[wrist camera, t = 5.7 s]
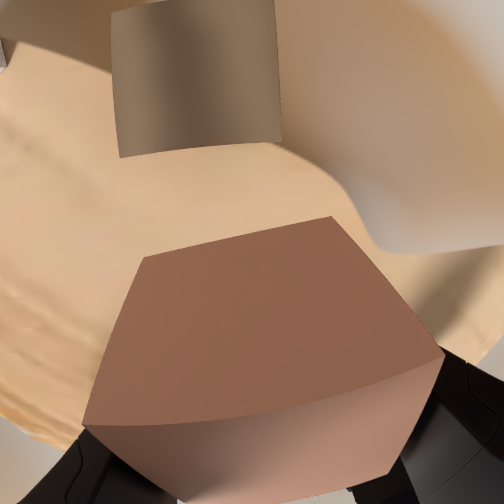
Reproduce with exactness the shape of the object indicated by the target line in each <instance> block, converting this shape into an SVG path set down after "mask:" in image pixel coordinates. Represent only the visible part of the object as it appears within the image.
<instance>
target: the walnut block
mask: <svg viewBox="0 0 504 504" xmlns="http://www.w3.org/2000/svg"><path fill="white" fill-rule="evenodd" d="M111 58H112V83H113V98H114V110H115V121H116V131H117V140H118V148H119V156H120V158H124V157H130V156H136V155H143V154H149V153H156V152H163V151H171V150H179V149H187V148H196V147H206V146H217V145H229V144H243V143H260V142H281V141H282V129H281V104H280V86H279V85H280V83H279V66H278V49H277V34H276V20H275V7H274V0H166V1H161V2H156V3H151V4H146V5H141V6H137V7H132V8H128V9H124V10H121V11H117V12H113V13H112V15H111Z"/></svg>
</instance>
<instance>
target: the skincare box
mask: <svg viewBox="0 0 504 504" xmlns="http://www.w3.org/2000/svg"><path fill="white" fill-rule="evenodd" d="M6 66H7V64H6V60H5V56H4V52H3V48H2V43H1V38H0V73H1V72H2V71H3V70H4V69H5V68H6Z"/></svg>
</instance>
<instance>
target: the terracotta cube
mask: <svg viewBox="0 0 504 504" xmlns="http://www.w3.org/2000/svg"><path fill="white" fill-rule="evenodd" d="M444 358H445V354H444V353H443V351H442V350H441V348H440V347H439V346H438V344H437V343H436V341H435V340H434V339H433V337H432V336H431V335H430V333H429V332H428V331H427V329H426V328H425V327H424V325H423V324H422V323H421V321H420V320H419V319H418V318H417V316H416V315H415V314H414V312H413V311H412V310H411V309H410V307H409V306H408V305H407V303H406V302H405V301H404V300H403V298H402V297H401V296H400V295H399V293H398V292H397V291H396V290H395V289H394V287H393V286H392V285H391V284H390V282H389V281H388V280H387V279H386V278H385V276H384V275H383V274H382V273H381V272H380V270H379V269H378V268H377V267H376V266H375V265H374V263H373V262H372V261H371V260H370V259H369V258H368V256H367V255H366V254H365V253H364V252H363V251H362V250H361V248H360V247H359V246H358V245H357V244H356V243H355V242H354V241H353V239H352V238H351V237H350V236H349V235H348V234H347V233H346V232H345V231H344V229H343V228H342V227H341V226H340V225H339V224H338V223H337V222H336V221H335V220H334V219H333V217H332V216H330V217H325V218H320V219H315V220H310V221H306V222H301V223H296V224H291V225H287V226H282V227H277V228H273V229H268V230H263V231H259V232H254V233H249V234H245V235H240V236H236V237H231V238H227V239H222V240H218V241H213V242H209V243H204V244H200V245H195V246H191V247H187V248H182V249H178V250H174V251H169V252H165V253H161V254H156V255H152V256H148V257H144V258H143V260H142V262H141V264H140V267H139V269H138V271H137V273H136V276H135V278H134V280H133V282H132V285H131V287H130V289H129V292H128V294H127V297H126V299H125V301H124V304H123V306H122V309H121V311H120V314H119V316H118V319H117V321H116V324H115V326H114V329H113V331H112V334H111V337H110V339H109V342H108V345H107V348H106V350H105V353H104V356H103V359H102V361H101V364H100V367H99V370H98V373H97V376H96V379H95V382H94V385H93V388H92V391H91V395H90V398H89V401H88V404H87V408H86V411H85V414H84V418H83V421H82V425H83V426H84V427H85V428H86V429H87V430H88V431H89V432H90V433H91V434H93V435H94V436H95V437H96V438H97V439H98V440H99V441H100V442H101V443H103V444H104V445H105V446H106V447H107V448H108V449H110V450H111V451H112V452H113V453H114V454H116V455H117V456H118V457H119V458H121V459H122V460H123V461H124V462H126V463H127V464H128V465H129V466H131V467H132V468H133V469H135V470H136V471H137V472H139V473H140V474H141V475H143V476H144V477H146V478H147V479H148V480H150V481H151V482H153V483H154V484H156V485H157V486H159V487H160V488H162V489H163V490H165V491H166V492H168V493H169V494H171V495H172V496H174V497H176V498H177V499H179V500H181V501H182V502H184V503H186V504H278V503H284V502H289V501H294V500H299V499H304V498H309V497H313V496H318V495H322V494H326V493H330V492H333V491H337V490H340V489H344V488H348V487H351V486H354V485H357V484H360V483H363V482H366V481H369V480H372V479H375V478H378V477H380V476H383V475H386V474H388V472H389V471H390V469H391V468H392V466H393V464H394V463H395V461H396V459H397V458H398V456H399V454H400V452H401V451H402V449H403V447H404V445H405V444H406V442H407V440H408V438H409V436H410V434H411V433H412V431H413V429H414V427H415V425H416V423H417V421H418V419H419V417H420V415H421V413H422V410H423V408H424V406H425V404H426V402H427V400H428V397H429V395H430V393H431V391H432V388H433V386H434V383H435V381H436V379H437V376H438V374H439V371H440V368H441V366H442V363H443V360H444Z"/></svg>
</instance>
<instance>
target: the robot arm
mask: <svg viewBox="0 0 504 504" xmlns="http://www.w3.org/2000/svg"><path fill="white" fill-rule="evenodd" d="M438 346H439V345H438ZM439 347H440V348H441V350H442V351H443V353H444V354H445V358H444V360H443V363H442V366H441V368H440V371H439V374H438V376H437V379H436V381H435V383H434V386H433V388H432V391H431V393H430V395H429V397H428V400H427V402H426V404H425V406H424V408H423V410H422V413H421V415H420V417H419V419H418V421H417V423H416V425H415V427H414V429H413V431H412V433H411V434H410V436H409V438H408V440H407V442H406V444H405V445H404V447H403V449H402V451H401V452H400V454H399V456H398V458H397V459H396V461H395V463H394V464H393V466H392V468H391V469H390V471H389V472H388V474H386V475H383V476H380V477H378V478H375V479H372V480H369V481H366V482H363V483H360V484H357V485H354V486H351V487H348V488H346V489H347V490H348V491H349V492H352V493H353V495H354V498H355V502H356V503H357V504H504V381H502V380H499V379H498V378H496V377H494V376H492V375H490V374H488V373H486V372H484V371H483V370H481V369H479V368H477V367H475V366H474V365H472V364H470V363H466V361H465V360H463V359H461V358H460V357H458V356H456V355H455V354H453V353H451V352H449V351H448V350H446V349H444V348H442V347H441V346H439ZM17 504H177V498H176V497H174V496H172V495H171V494H169V493H168V492H166V491H165V490H163V489H162V488H160V487H159V486H157V485H156V484H154V483H153V482H151V481H150V480H148V479H147V478H146V477H144V476H143V475H141V474H140V473H139V472H137V471H136V470H135V469H133V468H132V467H131V466H129V465H128V464H127V463H126V462H124V461H123V460H122V459H121V458H119V457H118V456H117V455H116V454H114V453H113V452H112V451H111V450H110V449H108V448H107V447H106V446H105V445H104V444H103V443H101V442H100V441H99V440H98V439H97V438H96V437H95V436H94V435H93V434H91V433H90V432H89V431H88V430H87V429H86V428H85V429H84V430H83V431H82V433H81V434H80V435H79V436H78V439H76V440H75V441H74V443H73V444H72V445H71V446H70V448H69V449H68V450H67V451H66V453H65V454H64V455H63V456H62V458H61V459H60V460H59V461H58V462H57V463H56V465H55V466H54V467H53V468H52V469H51V470H50V471H49V472H48V473H47V474H46V475H45V476H44V478H42V480H41V481H40V482H39V483H38V484H37V485H36V486H35V487H34V488H33V489H32V490H31V491H30V492H29V493H28V494H27V495H26V496H25V497H24V498H23V499H22V500H21V501H20V502H18V503H17Z"/></svg>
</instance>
